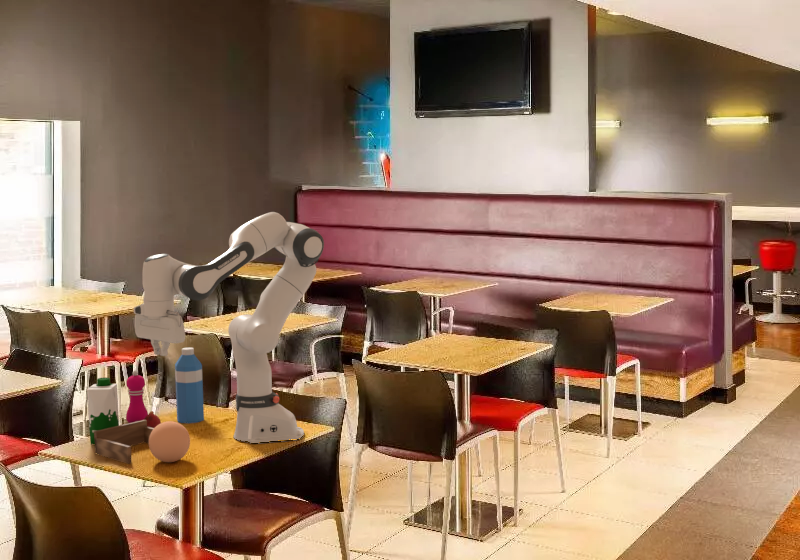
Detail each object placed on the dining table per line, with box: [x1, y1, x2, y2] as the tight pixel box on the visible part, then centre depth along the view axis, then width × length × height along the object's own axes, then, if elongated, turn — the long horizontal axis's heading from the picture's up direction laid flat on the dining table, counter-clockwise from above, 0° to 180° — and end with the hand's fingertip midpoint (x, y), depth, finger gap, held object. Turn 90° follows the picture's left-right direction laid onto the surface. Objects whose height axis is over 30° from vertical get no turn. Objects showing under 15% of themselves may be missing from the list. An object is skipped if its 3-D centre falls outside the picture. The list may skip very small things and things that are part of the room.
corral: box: [94, 420, 154, 464], centre depth 319 cm, size 17×18×7 cm
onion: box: [144, 410, 162, 428], centre depth 338 cm, size 6×6×8 cm
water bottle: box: [174, 347, 205, 424], centre depth 357 cm, size 9×9×25 cm
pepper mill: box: [125, 370, 149, 423], centre depth 345 cm, size 7×7×20 cm
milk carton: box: [86, 377, 120, 445], centre depth 331 cm, size 9×9×20 cm
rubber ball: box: [148, 420, 191, 463], centre depth 308 cm, size 12×12×12 cm
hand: (160, 355), depth 310 cm, fingers closed
